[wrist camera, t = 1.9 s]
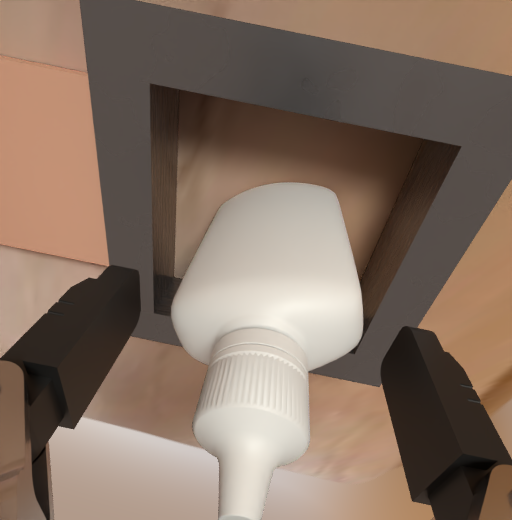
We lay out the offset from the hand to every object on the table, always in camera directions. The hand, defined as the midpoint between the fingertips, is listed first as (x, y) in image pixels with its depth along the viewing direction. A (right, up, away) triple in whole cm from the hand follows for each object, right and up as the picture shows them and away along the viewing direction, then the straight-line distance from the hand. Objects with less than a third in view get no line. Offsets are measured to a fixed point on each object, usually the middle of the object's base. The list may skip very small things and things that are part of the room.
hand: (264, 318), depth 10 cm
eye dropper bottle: (+1, +4, +6) cm, 7 cm away
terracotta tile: (-11, +6, +6) cm, 14 cm away
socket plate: (+1, +4, +6) cm, 7 cm away
